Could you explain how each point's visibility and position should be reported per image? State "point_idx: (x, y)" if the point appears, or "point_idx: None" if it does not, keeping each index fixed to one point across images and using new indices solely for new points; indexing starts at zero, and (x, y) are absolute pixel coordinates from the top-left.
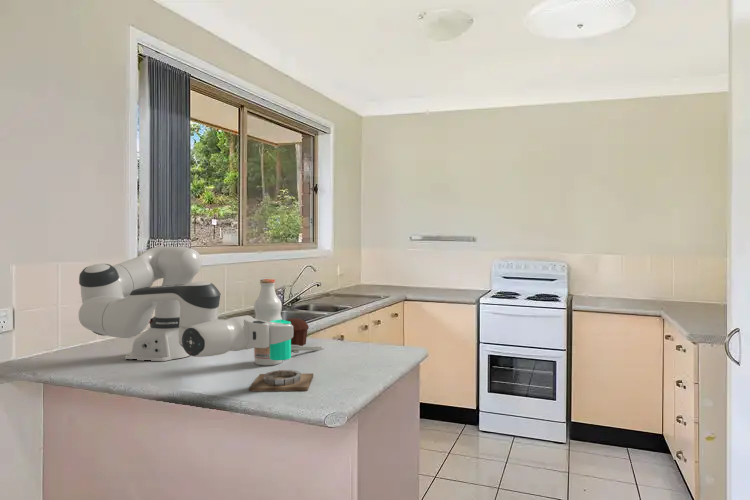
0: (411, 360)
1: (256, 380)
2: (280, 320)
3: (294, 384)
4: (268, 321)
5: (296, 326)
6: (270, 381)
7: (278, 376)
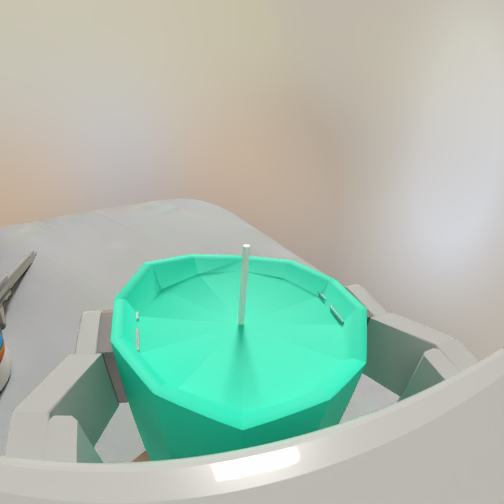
0: (247, 226)
1: None
2: (155, 276)
3: None
4: (294, 450)
5: None
6: None
7: None
